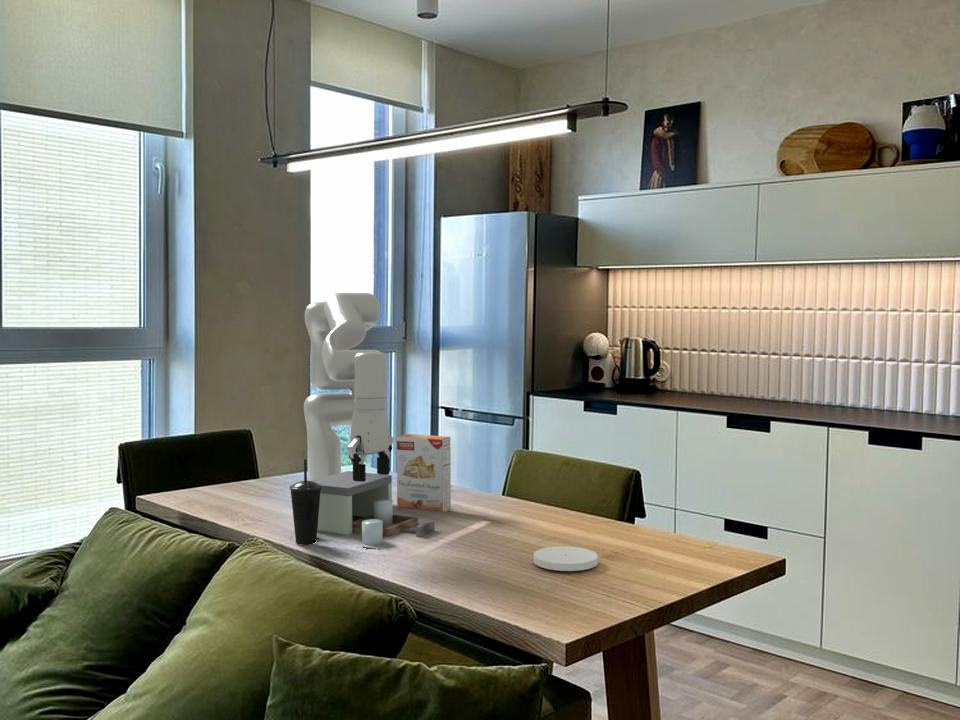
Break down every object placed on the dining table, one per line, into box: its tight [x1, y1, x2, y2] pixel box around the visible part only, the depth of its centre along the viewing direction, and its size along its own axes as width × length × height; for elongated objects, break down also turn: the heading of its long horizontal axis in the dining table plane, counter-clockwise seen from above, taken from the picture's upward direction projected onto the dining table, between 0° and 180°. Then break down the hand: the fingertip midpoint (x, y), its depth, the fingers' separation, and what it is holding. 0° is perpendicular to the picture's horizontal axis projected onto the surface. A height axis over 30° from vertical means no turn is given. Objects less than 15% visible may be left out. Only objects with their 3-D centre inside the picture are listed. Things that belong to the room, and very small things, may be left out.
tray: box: [352, 513, 436, 538], centre depth 223 cm, size 14×19×3 cm
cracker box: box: [396, 433, 452, 513], centre depth 248 cm, size 14×6×21 cm, turn 68°
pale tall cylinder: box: [374, 499, 394, 526], centre depth 228 cm, size 5×5×6 cm
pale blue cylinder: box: [361, 519, 384, 550], centre depth 211 cm, size 5×5×6 cm
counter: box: [312, 470, 393, 536], centre depth 227 cm, size 19×25×12 cm
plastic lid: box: [532, 546, 599, 572], centre depth 196 cm, size 14×14×2 cm
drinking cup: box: [288, 459, 322, 546], centre depth 214 cm, size 8×8×20 cm
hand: (371, 477), depth 210 cm, fingers open, 9 cm apart
